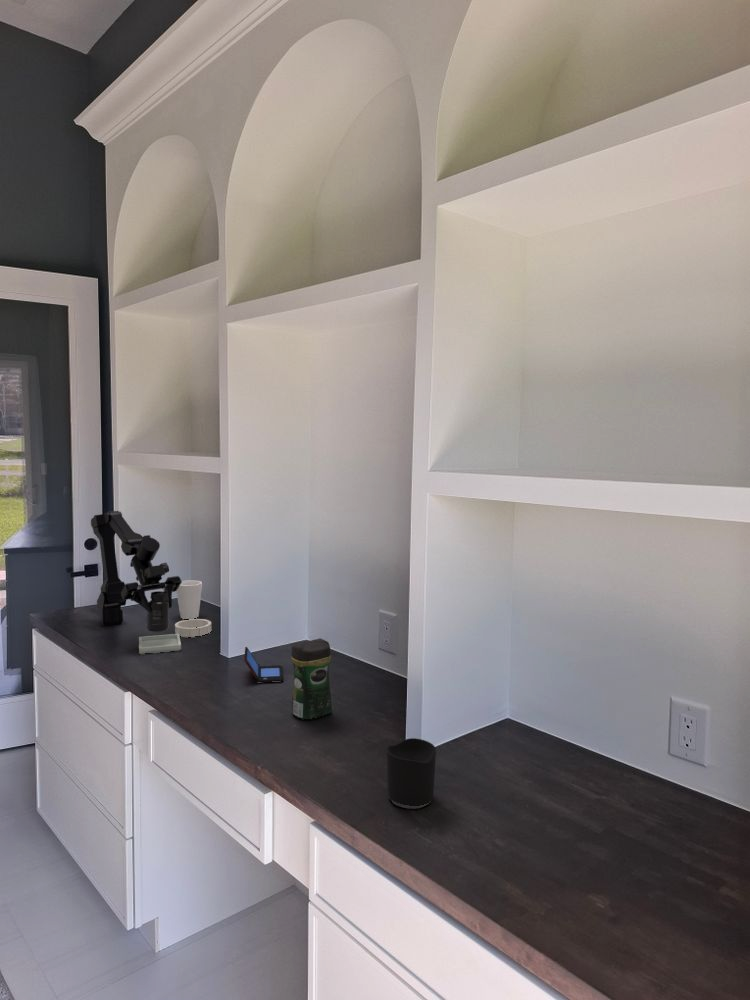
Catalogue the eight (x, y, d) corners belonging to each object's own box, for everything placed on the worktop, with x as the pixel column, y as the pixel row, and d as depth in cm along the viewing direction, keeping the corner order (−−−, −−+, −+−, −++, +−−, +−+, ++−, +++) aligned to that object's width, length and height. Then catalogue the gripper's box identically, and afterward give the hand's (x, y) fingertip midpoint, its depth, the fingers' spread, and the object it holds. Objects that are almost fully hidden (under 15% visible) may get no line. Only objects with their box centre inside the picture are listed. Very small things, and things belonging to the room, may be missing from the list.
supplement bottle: (173, 628, 229) (174, 591, 228) (160, 633, 223) (161, 595, 222) (154, 625, 231) (156, 589, 230) (141, 630, 225) (143, 593, 224)
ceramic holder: (176, 638, 237) (175, 629, 236) (174, 628, 248) (174, 620, 248) (212, 635, 240) (212, 627, 240) (209, 626, 252) (209, 617, 251)
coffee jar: (319, 704, 182) (319, 633, 180) (336, 714, 175) (336, 641, 173) (286, 713, 176) (286, 640, 174) (302, 723, 170) (302, 648, 168)
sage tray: (139, 654, 220) (139, 648, 220) (139, 642, 232) (139, 636, 232) (181, 650, 224) (181, 644, 224) (179, 639, 236) (178, 633, 235)
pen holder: (436, 812, 131) (437, 761, 130) (385, 811, 132) (385, 759, 130) (434, 787, 140) (434, 738, 139) (386, 785, 141) (387, 737, 140)
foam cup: (195, 612, 270) (195, 579, 268) (207, 617, 262) (206, 583, 261) (172, 616, 264) (171, 582, 262) (182, 622, 256) (182, 587, 255)
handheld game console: (283, 683, 197) (283, 657, 196) (244, 685, 195) (243, 659, 194) (282, 668, 209) (282, 644, 208) (245, 670, 207) (245, 645, 207)
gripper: (123, 558, 221) (140, 600, 214) (178, 551, 234) (195, 590, 227) (113, 579, 228) (129, 619, 221) (167, 571, 241) (184, 609, 234)
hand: (160, 609), depth 226 cm, fingers closed on supplement bottle, 7 cm apart
